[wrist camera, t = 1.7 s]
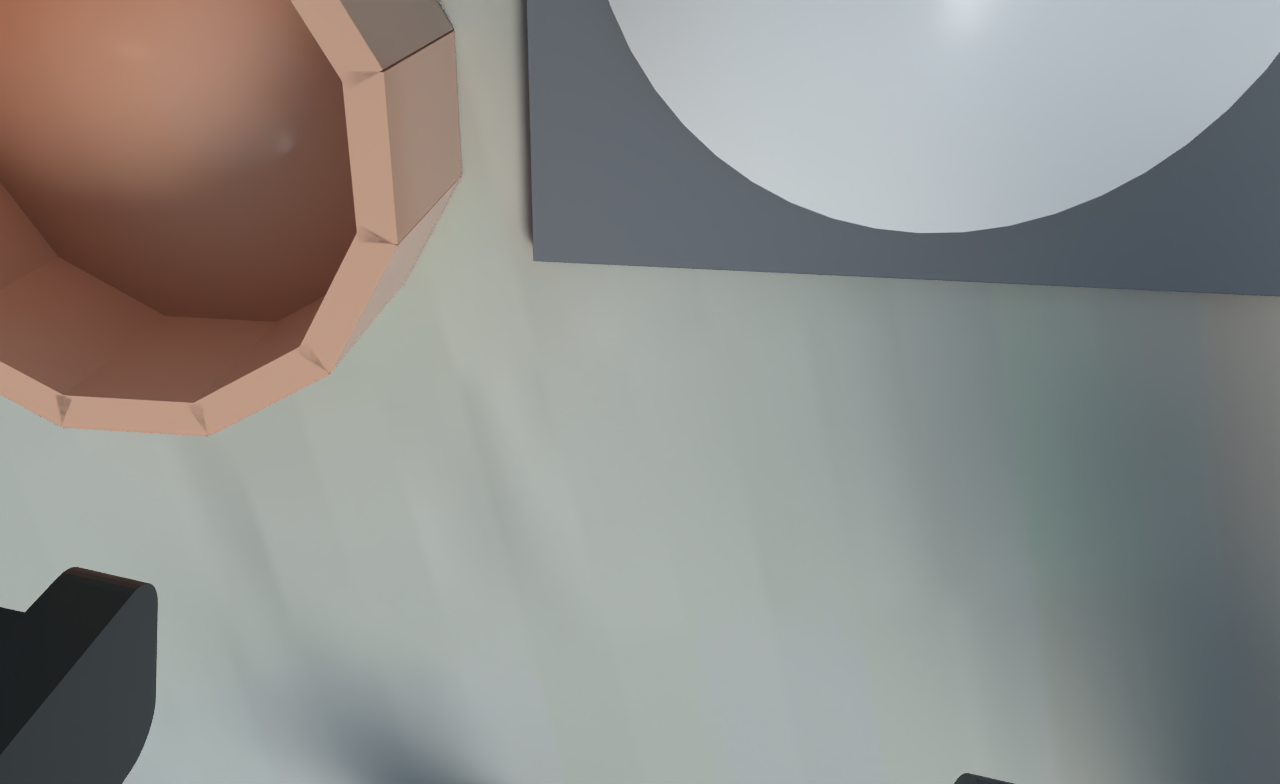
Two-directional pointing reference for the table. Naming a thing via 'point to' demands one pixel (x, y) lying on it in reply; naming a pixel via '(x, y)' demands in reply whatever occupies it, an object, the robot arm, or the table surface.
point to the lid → (947, 96)
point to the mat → (816, 244)
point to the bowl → (210, 197)
